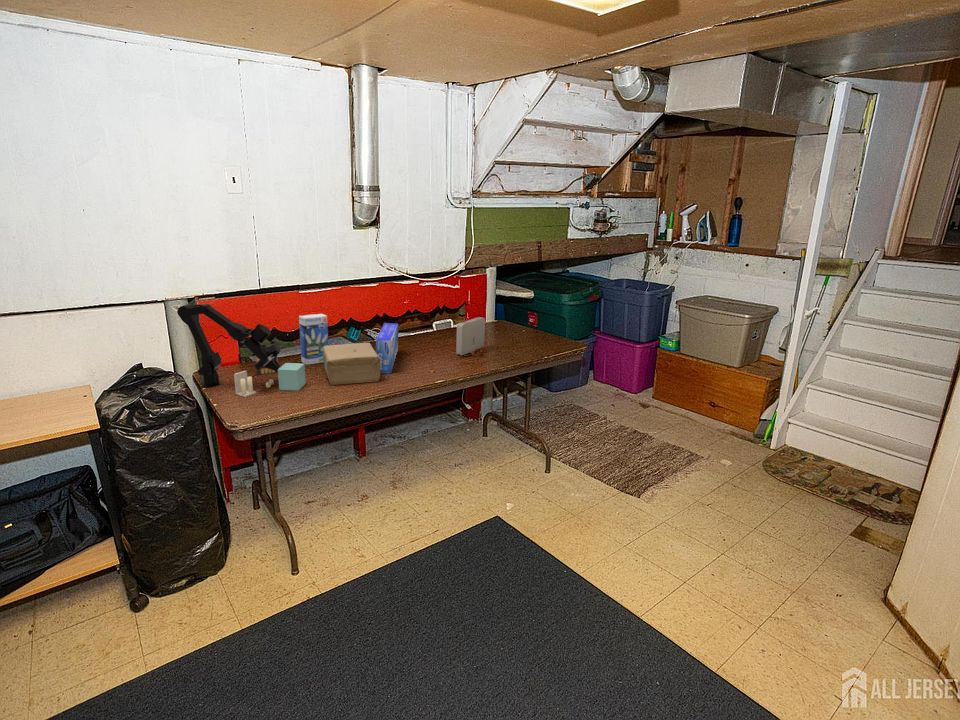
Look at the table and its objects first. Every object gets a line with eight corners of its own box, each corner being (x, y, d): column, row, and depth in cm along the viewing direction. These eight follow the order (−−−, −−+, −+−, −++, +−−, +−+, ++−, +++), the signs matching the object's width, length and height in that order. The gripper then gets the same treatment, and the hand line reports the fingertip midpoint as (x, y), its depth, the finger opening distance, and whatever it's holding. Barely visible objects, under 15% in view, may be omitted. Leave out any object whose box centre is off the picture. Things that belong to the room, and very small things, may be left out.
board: (257, 389, 253) (256, 383, 252) (263, 384, 259) (263, 378, 258) (282, 390, 252) (282, 384, 252) (288, 385, 259) (287, 379, 258)
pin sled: (236, 394, 243) (233, 374, 240) (247, 391, 248) (245, 370, 246) (245, 397, 241) (243, 376, 238) (256, 393, 246) (254, 372, 243)
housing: (279, 389, 251) (277, 369, 248) (287, 382, 260) (285, 362, 257) (298, 390, 251) (297, 370, 248) (305, 383, 260) (304, 363, 257)
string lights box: (306, 365, 289) (303, 318, 282) (300, 361, 295) (297, 315, 287) (329, 361, 298) (327, 315, 290) (323, 357, 303) (321, 312, 296)
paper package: (323, 369, 284) (321, 344, 280) (372, 366, 293) (371, 341, 289) (327, 386, 260) (326, 359, 256) (381, 382, 269) (380, 355, 265)
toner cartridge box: (391, 374, 281) (391, 340, 276) (375, 373, 281) (374, 339, 275) (398, 352, 318) (398, 322, 313) (384, 352, 318) (383, 322, 312)
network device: (464, 359, 311) (465, 325, 305) (452, 356, 315) (452, 323, 309) (487, 349, 332) (488, 318, 326) (475, 347, 336) (476, 315, 330)
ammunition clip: (278, 372, 276) (276, 350, 273) (279, 373, 275) (277, 351, 271) (256, 375, 271) (254, 352, 267) (257, 376, 269) (255, 353, 266)
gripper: (259, 342, 240) (285, 366, 243) (275, 331, 257) (299, 354, 261) (243, 358, 242) (269, 382, 245) (260, 347, 260) (284, 369, 263)
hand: (281, 371), depth 253 cm, fingers closed
